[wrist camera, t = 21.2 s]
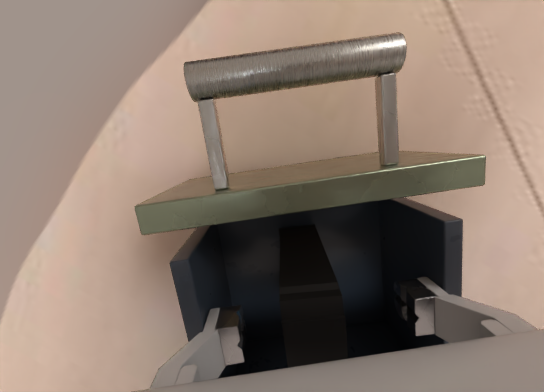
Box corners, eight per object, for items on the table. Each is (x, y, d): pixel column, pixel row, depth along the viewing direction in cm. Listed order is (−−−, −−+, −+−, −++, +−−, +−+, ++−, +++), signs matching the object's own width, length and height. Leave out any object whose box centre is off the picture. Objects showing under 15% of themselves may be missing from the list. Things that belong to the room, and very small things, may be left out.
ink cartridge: (278, 225, 16) (275, 303, 8) (314, 221, 16) (344, 297, 8) (287, 294, 17) (291, 420, 9) (320, 291, 17) (353, 417, 9)
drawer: (172, 100, 16) (95, 64, 8) (387, 70, 16) (492, 8, 8) (222, 342, 19) (199, 460, 12) (397, 315, 19) (478, 417, 12)
